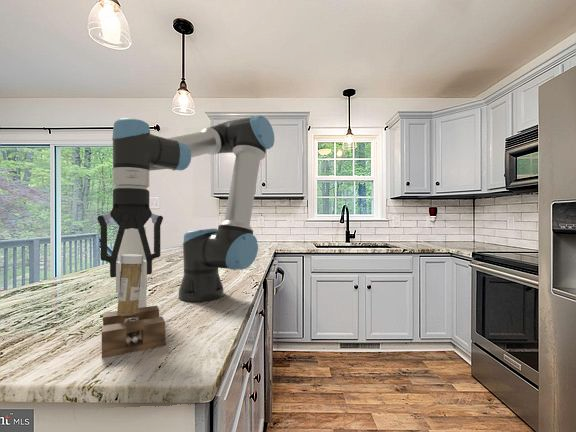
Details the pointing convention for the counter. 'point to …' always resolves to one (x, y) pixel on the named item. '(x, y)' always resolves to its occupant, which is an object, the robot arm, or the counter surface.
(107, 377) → the counter surface
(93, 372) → the counter surface
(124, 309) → the sprinkles bottle
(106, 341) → the socket
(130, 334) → the plunger
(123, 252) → the cylindrical container
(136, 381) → the counter surface
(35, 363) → the counter surface
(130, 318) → the plunger
